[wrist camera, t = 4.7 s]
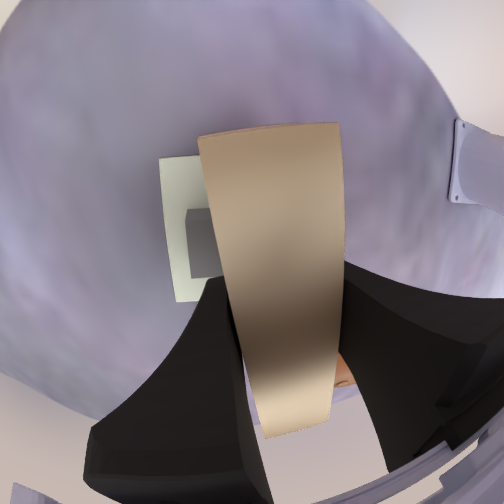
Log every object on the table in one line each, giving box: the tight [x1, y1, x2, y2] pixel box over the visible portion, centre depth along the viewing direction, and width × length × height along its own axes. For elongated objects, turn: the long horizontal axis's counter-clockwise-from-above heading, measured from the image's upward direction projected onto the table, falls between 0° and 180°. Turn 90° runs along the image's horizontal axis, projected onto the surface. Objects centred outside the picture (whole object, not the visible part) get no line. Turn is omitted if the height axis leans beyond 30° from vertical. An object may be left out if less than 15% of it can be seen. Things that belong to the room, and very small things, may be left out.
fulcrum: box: [159, 155, 224, 302], centre depth 17 cm, size 8×10×3 cm
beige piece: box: [197, 123, 345, 439], centre depth 10 cm, size 12×3×5 cm, turn 8°
